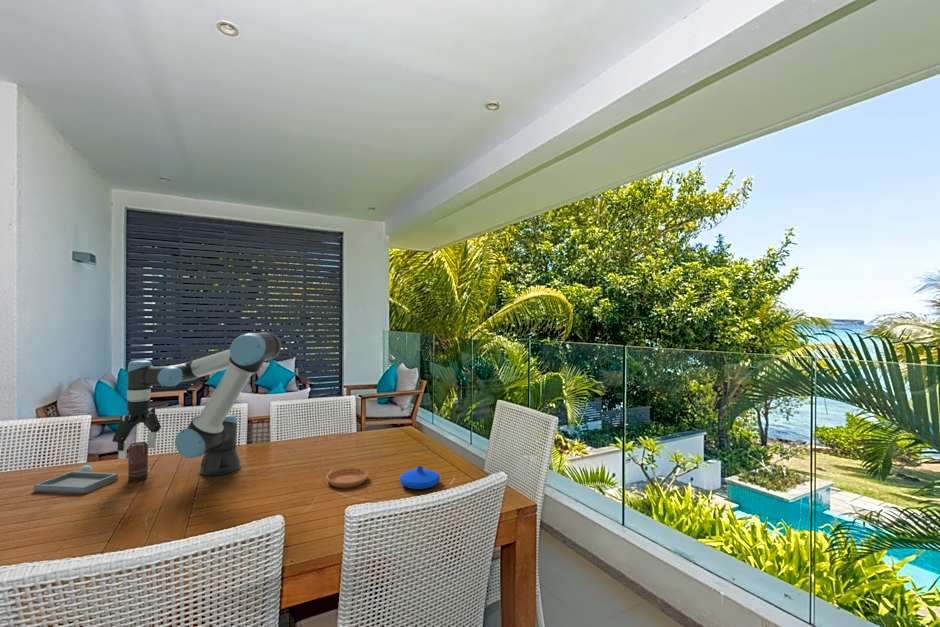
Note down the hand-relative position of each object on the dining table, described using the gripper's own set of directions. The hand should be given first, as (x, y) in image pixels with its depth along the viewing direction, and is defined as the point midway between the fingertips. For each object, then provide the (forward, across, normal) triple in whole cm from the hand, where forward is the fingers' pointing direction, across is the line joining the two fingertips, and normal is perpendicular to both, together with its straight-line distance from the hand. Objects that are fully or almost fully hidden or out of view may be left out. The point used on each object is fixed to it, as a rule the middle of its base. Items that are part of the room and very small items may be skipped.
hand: (137, 453), depth 176 cm
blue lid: (+9, -8, +113) cm, 113 cm away
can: (+10, 0, +1) cm, 10 cm away
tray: (+10, +9, -16) cm, 21 cm away
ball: (+11, -2, -24) cm, 27 cm away
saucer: (+9, -8, +83) cm, 84 cm away
